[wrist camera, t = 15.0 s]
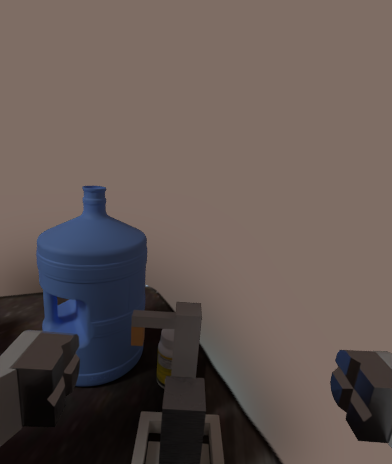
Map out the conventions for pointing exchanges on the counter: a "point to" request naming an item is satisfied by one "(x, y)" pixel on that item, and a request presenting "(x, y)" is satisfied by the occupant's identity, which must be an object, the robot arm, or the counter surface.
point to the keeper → (182, 366)
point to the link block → (182, 420)
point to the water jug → (94, 287)
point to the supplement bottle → (165, 356)
